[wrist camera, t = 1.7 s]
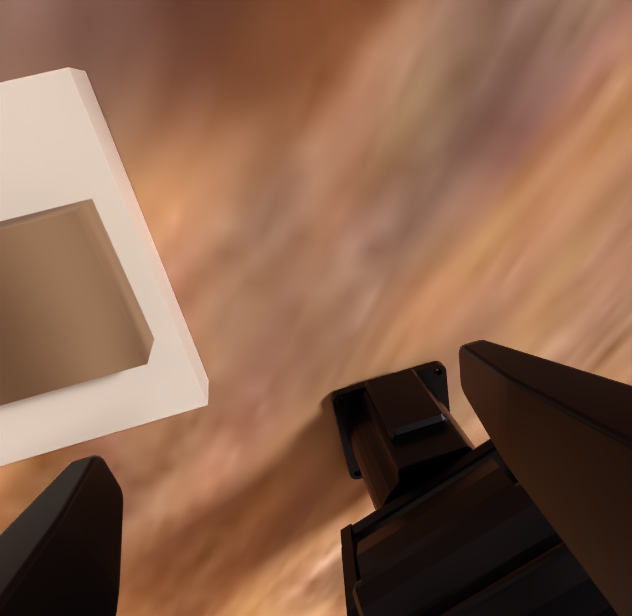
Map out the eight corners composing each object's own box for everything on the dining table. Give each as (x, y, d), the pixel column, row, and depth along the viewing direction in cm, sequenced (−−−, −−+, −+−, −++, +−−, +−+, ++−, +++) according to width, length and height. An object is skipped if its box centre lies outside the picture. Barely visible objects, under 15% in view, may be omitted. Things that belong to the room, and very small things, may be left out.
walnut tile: (91, 198, 16) (75, 210, 14) (154, 338, 18) (147, 363, 17) (-143, 256, 15) (-191, 277, 13) (-42, 393, 18) (-71, 425, 16)
